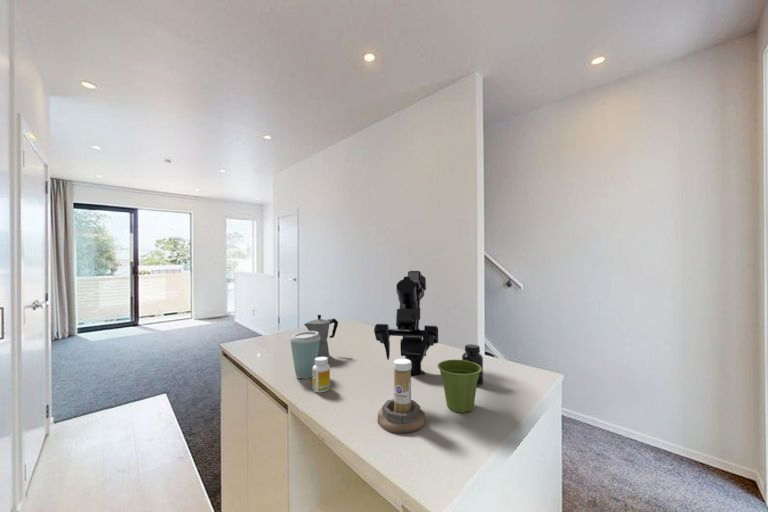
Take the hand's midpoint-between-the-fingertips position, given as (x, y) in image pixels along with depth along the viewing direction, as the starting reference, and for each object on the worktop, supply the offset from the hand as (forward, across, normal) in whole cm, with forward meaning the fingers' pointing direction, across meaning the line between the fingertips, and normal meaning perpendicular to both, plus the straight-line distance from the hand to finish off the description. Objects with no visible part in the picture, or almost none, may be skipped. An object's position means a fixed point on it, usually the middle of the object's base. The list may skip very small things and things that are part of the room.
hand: (404, 360), depth 84 cm
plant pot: (+7, +15, +11) cm, 20 cm away
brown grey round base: (+14, 0, +4) cm, 15 cm away
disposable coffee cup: (-3, -37, +22) cm, 43 cm away
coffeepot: (-18, -40, +37) cm, 57 cm away
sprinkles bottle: (+13, 0, +3) cm, 14 cm away
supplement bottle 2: (-6, +21, +25) cm, 33 cm away
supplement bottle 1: (+4, -27, +14) cm, 31 cm away
